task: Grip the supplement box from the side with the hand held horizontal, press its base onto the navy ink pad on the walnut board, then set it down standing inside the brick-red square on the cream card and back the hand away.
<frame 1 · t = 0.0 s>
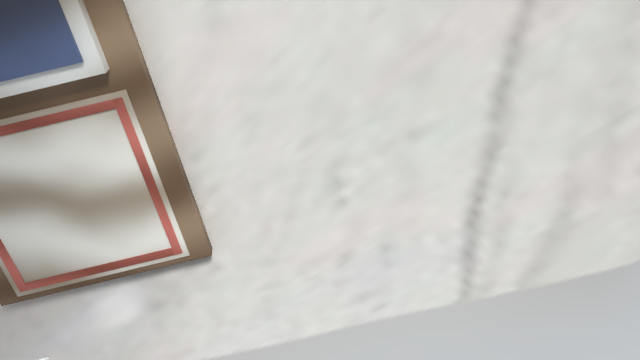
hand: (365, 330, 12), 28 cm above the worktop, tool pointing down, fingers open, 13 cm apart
stamping board: (28, 100, 37), on the worktop
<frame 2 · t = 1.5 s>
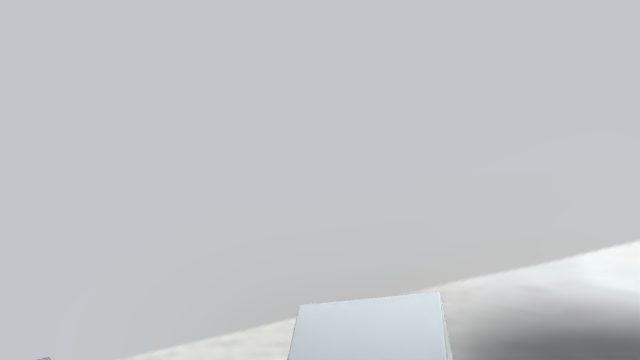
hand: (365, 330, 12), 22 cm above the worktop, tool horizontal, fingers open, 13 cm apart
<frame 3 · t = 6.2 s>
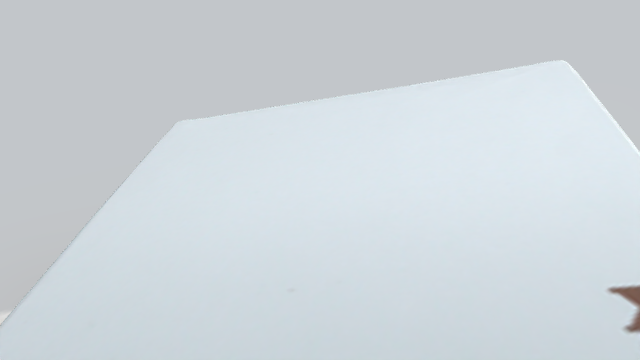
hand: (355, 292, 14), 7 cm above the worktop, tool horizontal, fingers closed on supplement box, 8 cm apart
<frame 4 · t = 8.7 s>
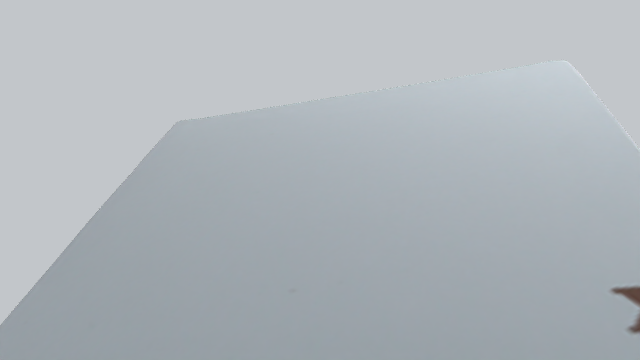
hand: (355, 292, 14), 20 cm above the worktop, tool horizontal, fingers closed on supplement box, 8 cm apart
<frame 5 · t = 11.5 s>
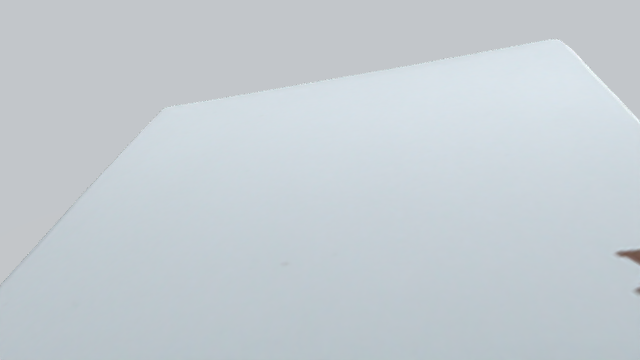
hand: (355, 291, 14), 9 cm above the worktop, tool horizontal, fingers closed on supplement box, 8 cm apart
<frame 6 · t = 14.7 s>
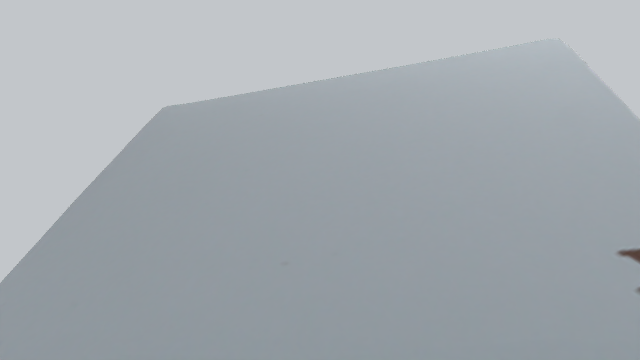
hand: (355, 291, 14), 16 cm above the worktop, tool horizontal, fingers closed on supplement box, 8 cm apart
when the fingers open (8 cm above the worktop, at t = 16.9 s): supplement box stays where it is, resting on stamping board.
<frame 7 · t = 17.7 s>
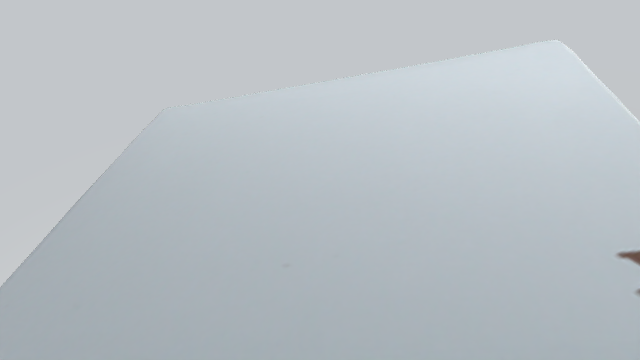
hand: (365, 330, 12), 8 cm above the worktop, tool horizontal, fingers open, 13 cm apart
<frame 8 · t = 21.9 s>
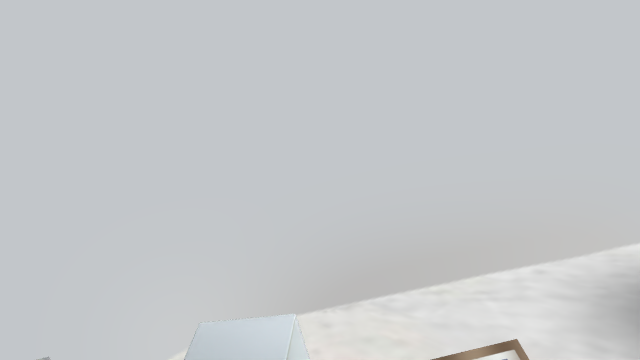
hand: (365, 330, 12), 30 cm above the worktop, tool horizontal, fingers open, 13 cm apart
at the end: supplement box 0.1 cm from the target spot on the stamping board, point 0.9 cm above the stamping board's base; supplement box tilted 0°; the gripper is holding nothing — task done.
